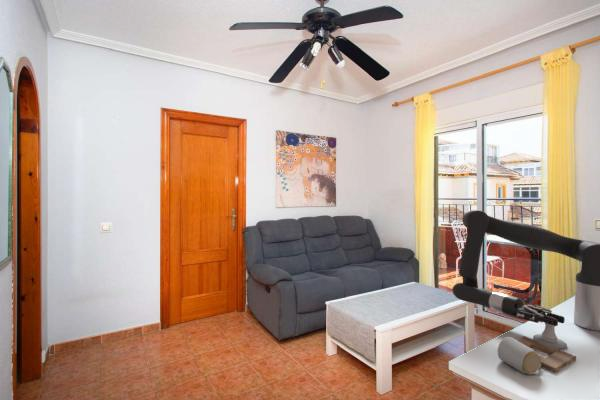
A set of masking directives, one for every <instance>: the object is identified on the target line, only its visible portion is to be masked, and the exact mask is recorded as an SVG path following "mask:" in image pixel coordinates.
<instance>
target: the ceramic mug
mask: <svg viewBox="0 0 600 400" xmlns="http://www.w3.org/2000/svg"><path fill="white" fill-rule="evenodd" d="M539 355H540V354H539V353H538V352H536V350H535V349H532V348H529V347H528V346H526V345H524V344H522V343H521V342H519V341H517V339H515V338H513V337H511V336H506V337H504V338H503V339H502V340H501V341H500V342H499V344H498V347H497V356H498V359H499V360H501V361H502V362H504V363H505V364H507V365H509V366H510V367H512V368H514V369H516V370H517V371H519V372H521V373H523V374H525V375H533V374H536V372H537V371H538V370H539V369H540V368H542V367H541V363H540V356H541V355H540V356H539Z"/></svg>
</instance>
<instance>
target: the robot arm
mask: <svg viewBox="0 0 600 400" xmlns="http://www.w3.org/2000/svg"><path fill="white" fill-rule="evenodd" d="M461 222H462V224H463V225H464V227H465V228H466V239H465V244H464V247H463V250H462V253H461V256H460V261H459V269H458V275H459V276H460V277H462V282H458V283H456V284H454V285H453V287H452V288H451V289H452V290H451V291H452V294H453V296H454V297H455V298H457V299H458V300H460V301H463V302H465V303H466V302H467V303H472V304H475V305H476V304H477V305H480V306H482V307H485V308H488V309H491V310H493V311H495V312H498V313H500V314H503V315H506V316H508V317H512V318H515V319H521V320H524V321H528V322H533V323H538V324H539V323H541V324H542V323H544V324H545V323H547V324H550V325H553V326H555V327H557V326H559V325H558V324H559V323H561V324H565V322H566V321H565V317H564V316H562V315H559V314H556V313H552V310H551V309H548V308H546V307H544V306H540V305H538V304H534V305H532V304H525V303H524V301H523V299H522V298H520V297H517V296H513V295H509V294H506V293H504V292H499V291H498V292H497V291H493V290H490V289H487V288H479V282H478V270H479V266H480V264H479V263H480V257H481V252H482V251H481V250H482V246H483V242H484V239H485V235H486V234H488V235H489V234H491V235H494V236H497V237H499V238H502V239H503V240H506V241H509V242H511V243H514V244H516V245H517V244H518V245H519V246H523V247H527V248H530V249H534V250H540V251H546V252H550V253H551V252H552V253H556V254H560V255H562V256H565V257H569V258H571V259H574V260H577V261H578V262H580V263H581V269H580V271H579V272H578V273H575V274H576V275H575V291H574V308H573V323H574V324H575V325H576V326H578V327H581V328H584V329H588V330H591V331H598V332H600V243H598V242H594V241H589V240H583V239H577V238H573V237H572V238H571V237H567V236H563V235H561V234H558V233H556V232H553V231H551V230H549V229H546V228H542V227H539V226H536V225H532V224H529V223H524V222H519V221H512V220H505V219H501V218H500V219H499V218H497V217H494V216H490V215H488V214H487V212H485V211H484V210H480V209H474V210H470V211H467V212H466V213H465V214H464V215H463V217H462V221H461ZM548 316H549V317H548ZM551 317H553V318H551ZM554 318H555V319H554Z"/></svg>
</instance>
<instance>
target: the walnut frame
mask: <svg viewBox="0 0 600 400" xmlns="http://www.w3.org/2000/svg"><path fill="white" fill-rule="evenodd" d="M516 340H517V341H519V342H521V343H522V344H524V345H526V346H528V347H529V348H531V349H533V350H534V351H538V352H540V353H542V354H545V355H547V356H542V355H540V354H539V356H540V363H541V367H540V368H542V369H545V370H547V371H550V372H552V373H554V374H556V373H558V372H559V371H561V370H563V369H564V368H566V367H568V366H569V365H571V364H572V363H574V362H576V361H577V356H576V355H574V354H571V353H569V352H567V351H564V350H559V349H556V348H554V347H551V346H548V345H546V344H543V343H541V342H538V341H535V340H533V338H530V337H527V336H525V335H524V336H521V337H519V338H517V339H516Z"/></svg>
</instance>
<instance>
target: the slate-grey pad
mask: <svg viewBox="0 0 600 400" xmlns="http://www.w3.org/2000/svg"><path fill="white" fill-rule="evenodd" d="M541 336H542V333H540V334H539V333H538V334H534V335H533V336H532V339H533V340H535V341H538V342H541V343H543V344H546V345H548V346H551V347H554V348H556V349H559V350H561V351H564V350H567V349H568V344H567V342H565V341H563V340H562V339H560V338H558V339H557V341H558V342H556V343H550V342H546V341H544V340H543V339H542V338H541Z"/></svg>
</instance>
